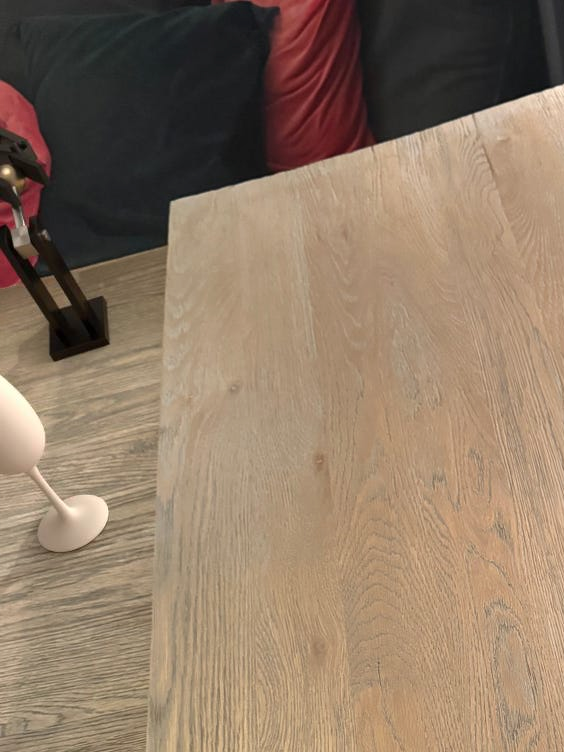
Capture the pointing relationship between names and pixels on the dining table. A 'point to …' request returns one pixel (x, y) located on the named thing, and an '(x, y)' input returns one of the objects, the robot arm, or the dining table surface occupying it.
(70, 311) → the bracket
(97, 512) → the wineglass
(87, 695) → the dining table surface
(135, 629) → the dining table surface
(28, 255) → the lever
